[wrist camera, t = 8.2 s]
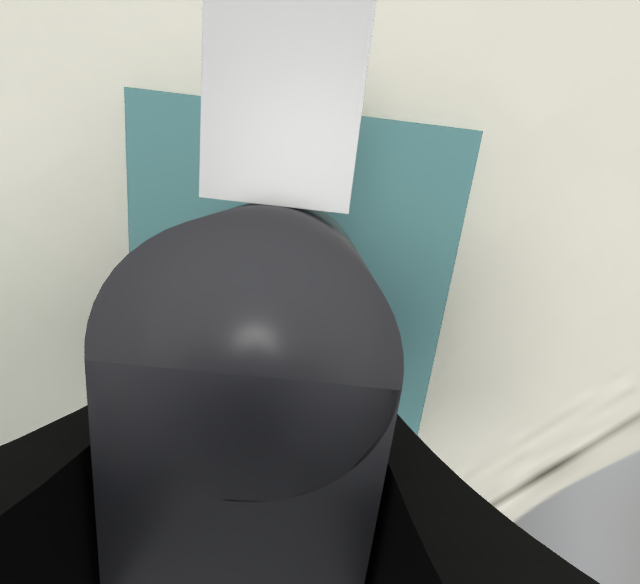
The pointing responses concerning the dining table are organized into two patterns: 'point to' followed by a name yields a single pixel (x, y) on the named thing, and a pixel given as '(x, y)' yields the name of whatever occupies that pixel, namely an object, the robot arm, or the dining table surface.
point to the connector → (251, 330)
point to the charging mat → (360, 224)
